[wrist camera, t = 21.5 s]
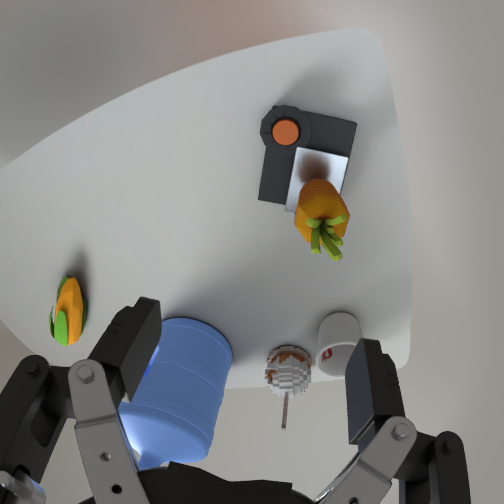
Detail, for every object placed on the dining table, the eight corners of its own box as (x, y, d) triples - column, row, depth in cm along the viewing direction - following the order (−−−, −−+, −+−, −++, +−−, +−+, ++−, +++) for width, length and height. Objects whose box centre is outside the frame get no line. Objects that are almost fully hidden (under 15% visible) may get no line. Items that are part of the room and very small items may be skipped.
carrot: (291, 168, 36) (286, 221, 23) (333, 160, 34) (355, 210, 21) (299, 207, 38) (298, 278, 25) (340, 200, 37) (361, 269, 24)
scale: (266, 101, 35) (264, 102, 32) (355, 119, 35) (360, 122, 32) (252, 195, 41) (249, 203, 39) (334, 210, 41) (336, 220, 38)
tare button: (275, 116, 33) (274, 118, 32) (300, 121, 33) (300, 122, 32) (271, 140, 35) (270, 142, 33) (296, 144, 35) (296, 147, 33)
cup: (373, 341, 51) (379, 377, 44) (331, 356, 54) (333, 391, 47) (352, 298, 47) (359, 334, 40) (306, 316, 50) (306, 353, 43)
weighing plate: (296, 146, 34) (296, 146, 34) (348, 157, 34) (348, 157, 34) (284, 209, 39) (284, 210, 38) (332, 219, 38) (332, 220, 38)
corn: (43, 345, 55) (42, 281, 45) (58, 321, 61) (63, 257, 51) (72, 361, 56) (77, 301, 46) (86, 336, 63) (96, 274, 53)
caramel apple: (264, 345, 55) (253, 416, 42) (309, 342, 53) (307, 416, 40) (271, 372, 58) (262, 439, 45) (312, 370, 57) (310, 439, 44)
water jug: (231, 320, 53) (188, 476, 29) (234, 377, 60) (204, 506, 36) (146, 309, 54) (74, 441, 30) (161, 366, 62) (114, 481, 38)
